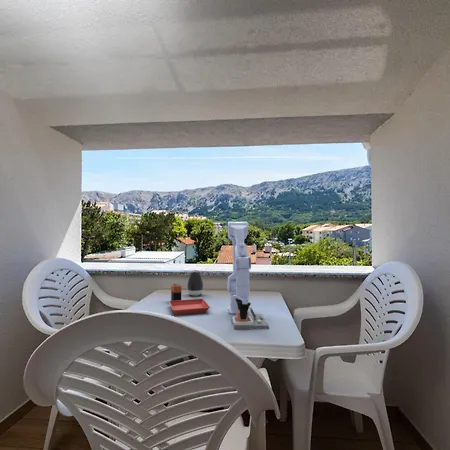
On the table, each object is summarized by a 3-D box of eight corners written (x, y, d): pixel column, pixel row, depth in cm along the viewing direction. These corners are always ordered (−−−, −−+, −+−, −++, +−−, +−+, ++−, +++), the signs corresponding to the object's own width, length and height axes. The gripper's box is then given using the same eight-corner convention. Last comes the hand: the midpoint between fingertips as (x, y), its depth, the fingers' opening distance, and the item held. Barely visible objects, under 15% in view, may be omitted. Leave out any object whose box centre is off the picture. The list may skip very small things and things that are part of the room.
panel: (230, 317, 133) (230, 311, 133) (261, 316, 134) (261, 311, 134) (234, 329, 117) (234, 323, 117) (268, 328, 118) (268, 322, 118)
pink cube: (236, 319, 125) (236, 309, 125) (246, 319, 125) (246, 309, 125) (237, 323, 120) (237, 312, 120) (248, 322, 120) (248, 312, 121)
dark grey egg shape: (204, 293, 184) (204, 269, 184) (201, 296, 173) (202, 271, 174) (188, 292, 185) (189, 268, 185) (185, 296, 174) (185, 271, 175)
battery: (178, 299, 166) (178, 282, 167) (181, 302, 160) (181, 284, 160) (171, 300, 165) (171, 282, 165) (173, 303, 158) (173, 284, 159)
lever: (253, 318, 128) (248, 306, 128) (256, 316, 128) (250, 305, 128) (254, 320, 126) (248, 308, 126) (257, 318, 126) (251, 307, 126)
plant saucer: (172, 316, 135) (172, 309, 135) (169, 306, 152) (169, 300, 152) (210, 314, 140) (210, 307, 140) (203, 304, 157) (203, 298, 157)
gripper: (231, 281, 130) (231, 312, 130) (235, 288, 115) (234, 322, 115) (247, 281, 130) (247, 312, 130) (252, 288, 116) (252, 322, 116)
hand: (242, 317), depth 123 cm, fingers closed on pink cube, 4 cm apart
